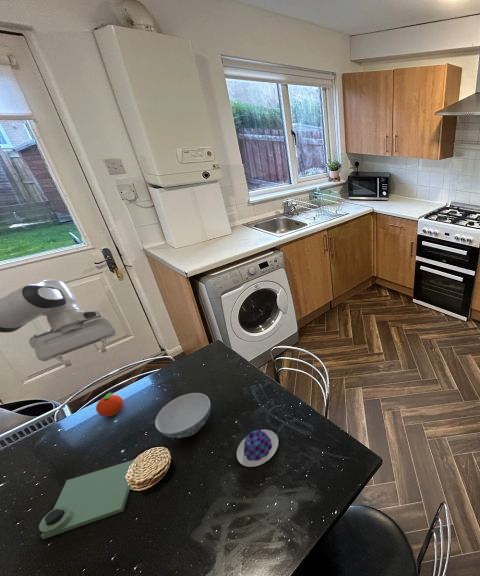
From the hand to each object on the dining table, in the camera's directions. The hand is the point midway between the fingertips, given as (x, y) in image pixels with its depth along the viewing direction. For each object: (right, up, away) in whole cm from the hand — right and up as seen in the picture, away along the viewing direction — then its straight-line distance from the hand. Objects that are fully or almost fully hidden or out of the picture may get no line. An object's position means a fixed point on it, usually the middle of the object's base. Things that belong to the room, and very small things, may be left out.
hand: (87, 358), depth 105 cm
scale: (+24, -32, -23) cm, 46 cm away
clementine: (+9, -18, +1) cm, 20 cm away
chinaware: (+38, -22, -5) cm, 44 cm away
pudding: (+63, -25, -11) cm, 69 cm away
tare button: (+21, -33, -29) cm, 48 cm away
